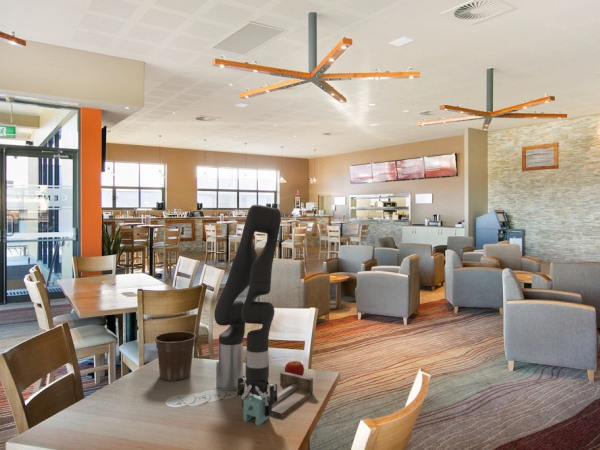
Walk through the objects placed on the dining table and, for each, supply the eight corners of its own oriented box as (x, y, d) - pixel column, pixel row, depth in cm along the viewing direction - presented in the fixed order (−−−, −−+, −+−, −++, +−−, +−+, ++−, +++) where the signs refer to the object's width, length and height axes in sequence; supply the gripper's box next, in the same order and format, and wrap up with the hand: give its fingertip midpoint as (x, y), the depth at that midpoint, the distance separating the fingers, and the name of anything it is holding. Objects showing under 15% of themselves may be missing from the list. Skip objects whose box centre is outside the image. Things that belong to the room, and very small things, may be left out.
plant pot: (159, 368, 187) (159, 331, 187) (197, 368, 189) (198, 330, 189) (150, 383, 171) (150, 342, 171) (192, 382, 173) (193, 341, 172)
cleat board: (249, 408, 151) (249, 391, 151) (282, 386, 170) (283, 371, 170) (281, 417, 145) (281, 399, 144) (312, 394, 164) (312, 378, 164)
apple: (294, 375, 182) (294, 356, 182) (308, 380, 177) (308, 361, 177) (280, 380, 177) (280, 361, 177) (294, 385, 171) (294, 366, 171)
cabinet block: (242, 421, 142) (242, 400, 141) (254, 413, 148) (254, 392, 147) (257, 426, 139) (257, 404, 139) (269, 417, 145) (269, 396, 144)
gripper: (232, 362, 143) (232, 412, 144) (269, 370, 136) (268, 422, 137) (246, 356, 150) (245, 403, 150) (282, 363, 143) (281, 413, 143)
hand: (256, 412), depth 143 cm, fingers open, 8 cm apart
